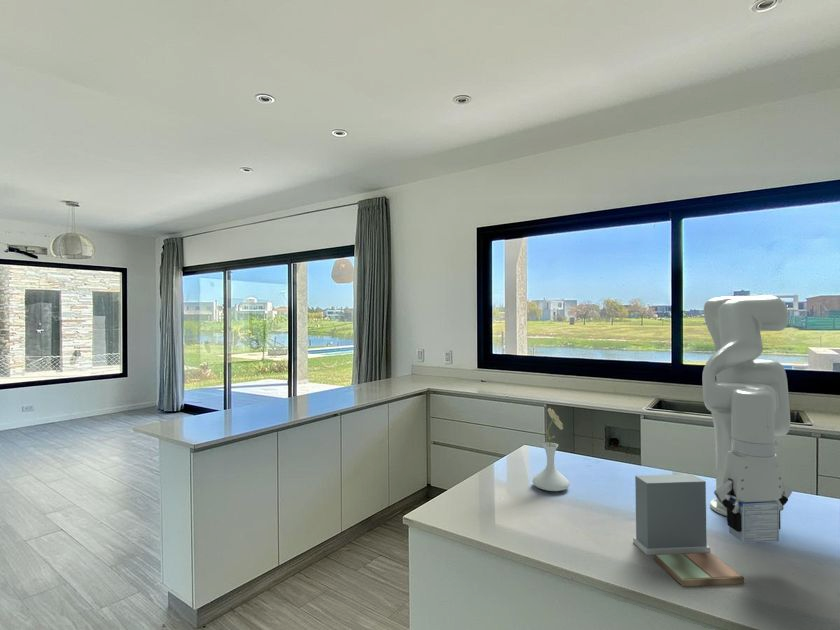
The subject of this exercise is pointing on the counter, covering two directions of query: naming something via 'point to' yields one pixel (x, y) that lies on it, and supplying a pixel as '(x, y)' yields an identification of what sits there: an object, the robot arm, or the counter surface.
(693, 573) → the board
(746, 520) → the medicine box
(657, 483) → the cabinet
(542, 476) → the flower in vase
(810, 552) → the counter surface
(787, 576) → the counter surface
